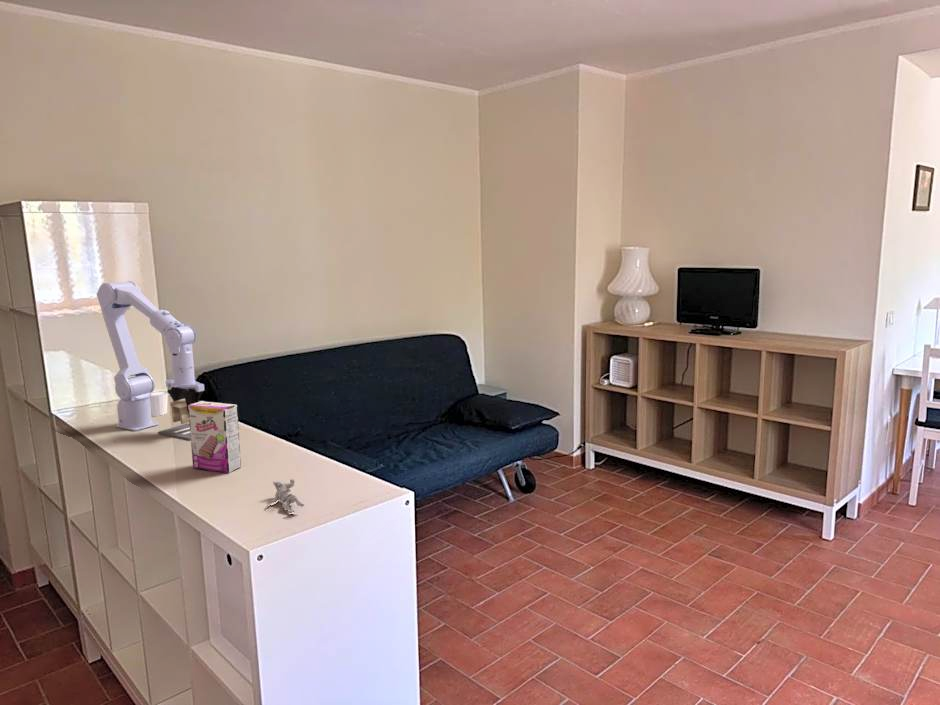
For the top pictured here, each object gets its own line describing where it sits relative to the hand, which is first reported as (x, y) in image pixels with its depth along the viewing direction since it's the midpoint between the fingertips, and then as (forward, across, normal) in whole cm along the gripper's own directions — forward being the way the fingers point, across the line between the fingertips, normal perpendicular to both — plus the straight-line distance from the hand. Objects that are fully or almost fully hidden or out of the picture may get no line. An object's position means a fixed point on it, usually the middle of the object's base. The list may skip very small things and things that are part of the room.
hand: (187, 412), depth 190 cm
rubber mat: (+6, 0, 0) cm, 6 cm away
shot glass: (+6, -27, +9) cm, 29 cm away
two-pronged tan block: (+2, 0, 0) cm, 2 cm away
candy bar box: (+6, +33, -17) cm, 38 cm away
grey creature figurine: (+6, +65, -26) cm, 70 cm away
